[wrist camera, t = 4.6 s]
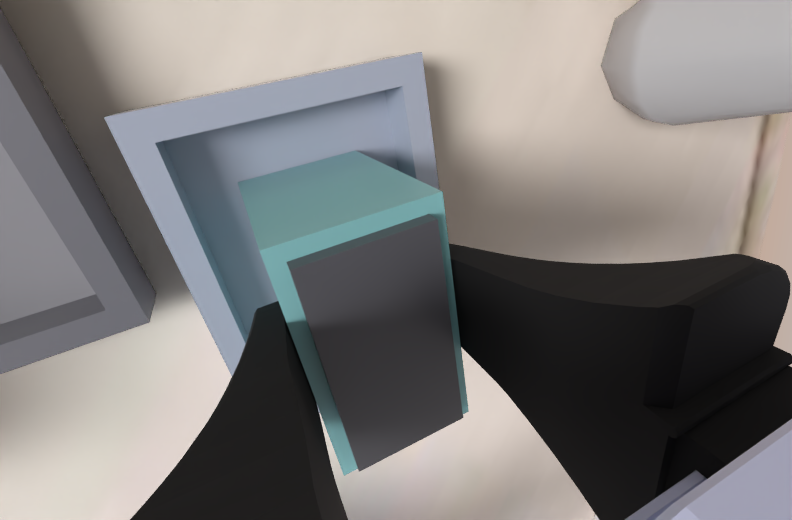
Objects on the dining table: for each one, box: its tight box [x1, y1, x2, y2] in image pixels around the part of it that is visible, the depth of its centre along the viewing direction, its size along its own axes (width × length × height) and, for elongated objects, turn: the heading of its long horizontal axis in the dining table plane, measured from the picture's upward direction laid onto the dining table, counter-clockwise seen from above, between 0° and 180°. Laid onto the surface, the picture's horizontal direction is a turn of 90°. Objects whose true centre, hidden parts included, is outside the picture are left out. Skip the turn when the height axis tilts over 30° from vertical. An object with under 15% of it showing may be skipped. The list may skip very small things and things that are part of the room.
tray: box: [104, 52, 439, 413], centre depth 14 cm, size 12×9×2 cm
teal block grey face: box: [237, 151, 468, 475], centre depth 12 cm, size 4×7×6 cm, turn 10°
